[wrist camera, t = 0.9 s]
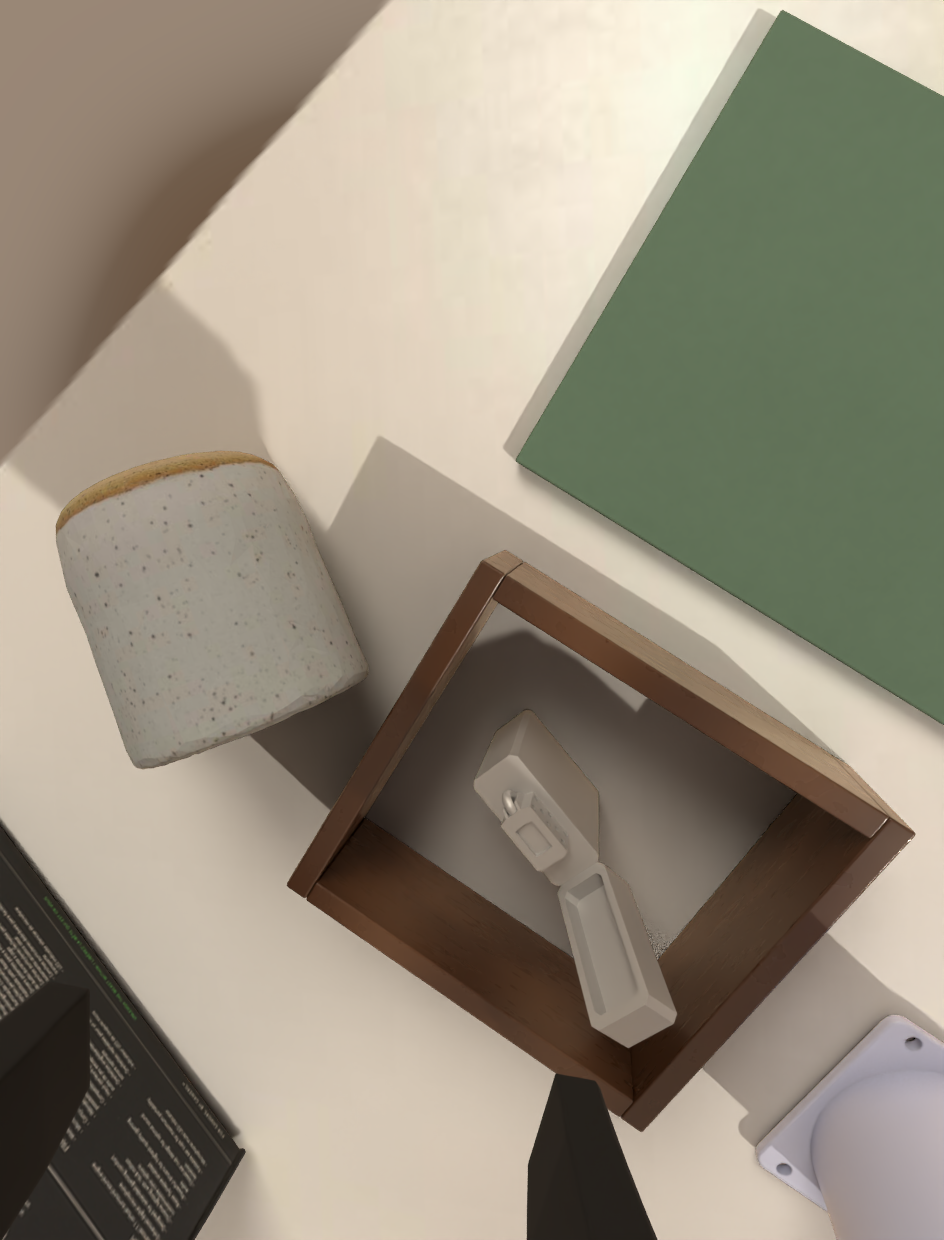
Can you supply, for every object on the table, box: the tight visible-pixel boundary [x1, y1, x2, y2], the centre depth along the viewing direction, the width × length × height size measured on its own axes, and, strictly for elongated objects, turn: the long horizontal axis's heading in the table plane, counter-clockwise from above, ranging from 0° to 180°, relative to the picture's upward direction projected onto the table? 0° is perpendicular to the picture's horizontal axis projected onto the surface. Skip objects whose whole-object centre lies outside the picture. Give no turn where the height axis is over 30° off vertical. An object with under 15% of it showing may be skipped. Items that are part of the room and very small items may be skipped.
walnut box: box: [287, 550, 915, 1132], centre depth 21 cm, size 14×13×4 cm
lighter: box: [473, 710, 677, 1048], centre depth 19 cm, size 7×2×8 cm, turn 40°
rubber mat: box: [516, 10, 944, 725], centre depth 19 cm, size 20×14×1 cm
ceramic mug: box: [56, 451, 368, 769], centre depth 21 cm, size 11×8×8 cm
